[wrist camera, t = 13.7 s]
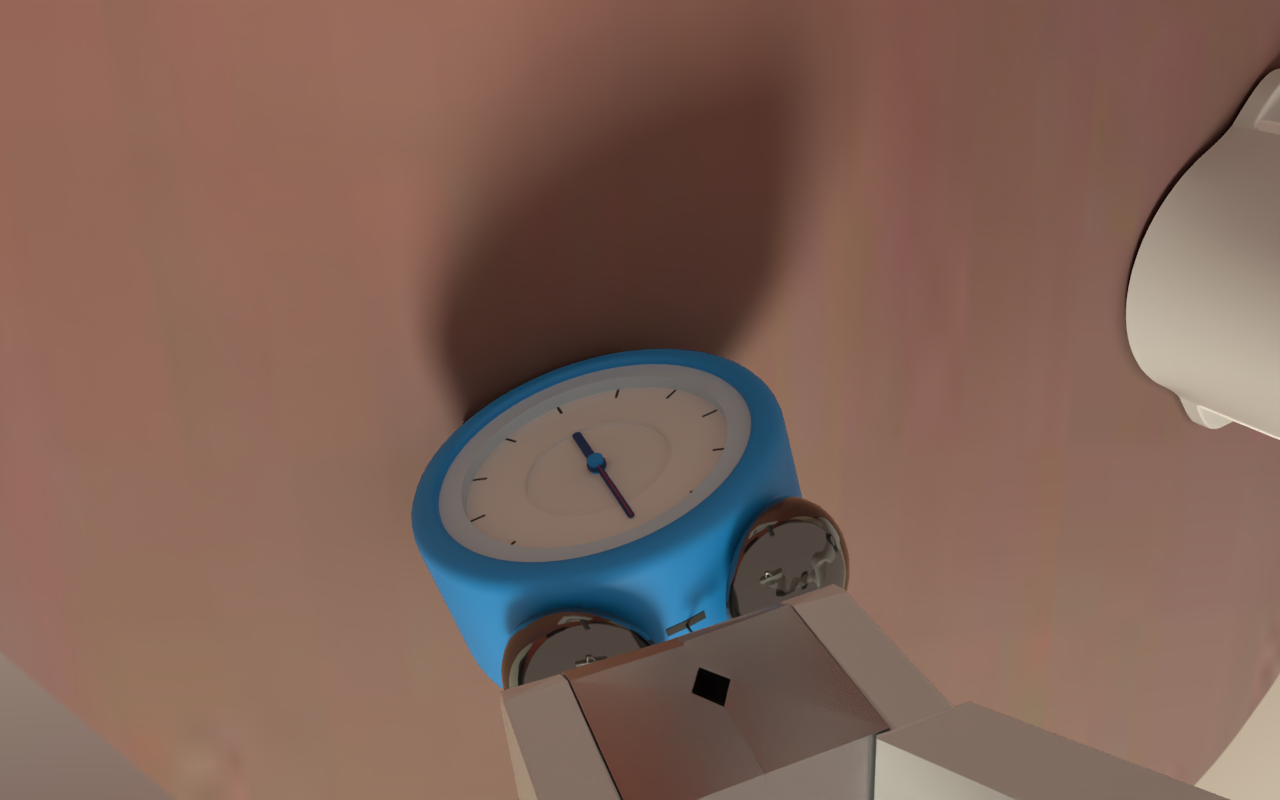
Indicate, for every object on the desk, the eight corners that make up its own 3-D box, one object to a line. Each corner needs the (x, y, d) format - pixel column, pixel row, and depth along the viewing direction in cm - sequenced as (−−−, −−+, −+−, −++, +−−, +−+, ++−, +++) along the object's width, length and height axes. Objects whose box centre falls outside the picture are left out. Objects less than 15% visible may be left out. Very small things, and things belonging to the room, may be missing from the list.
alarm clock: (685, 305, 41) (893, 484, 28) (718, 427, 44) (918, 637, 31) (381, 436, 38) (459, 696, 26) (439, 555, 42) (535, 837, 29)
